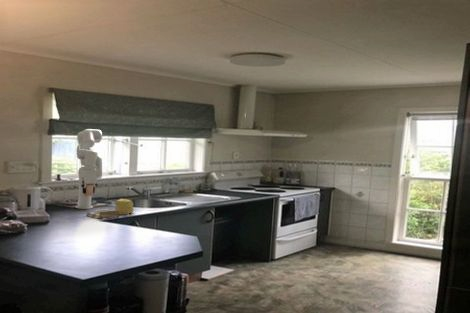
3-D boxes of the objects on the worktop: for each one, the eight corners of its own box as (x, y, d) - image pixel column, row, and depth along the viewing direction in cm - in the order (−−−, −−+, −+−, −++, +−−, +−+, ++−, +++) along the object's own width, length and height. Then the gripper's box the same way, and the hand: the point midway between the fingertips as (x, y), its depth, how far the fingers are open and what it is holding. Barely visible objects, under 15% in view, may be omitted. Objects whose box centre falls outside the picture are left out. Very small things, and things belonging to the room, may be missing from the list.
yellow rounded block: (133, 213, 340) (133, 199, 339) (128, 215, 329) (129, 201, 329) (119, 212, 341) (120, 198, 340) (114, 214, 330) (115, 200, 330)
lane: (87, 215, 317) (87, 208, 317) (105, 213, 328) (105, 207, 328) (100, 219, 307) (100, 212, 307) (119, 217, 318) (119, 210, 318)
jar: (82, 195, 321) (82, 183, 320) (89, 194, 325) (90, 183, 325) (87, 196, 317) (87, 184, 316) (94, 195, 321) (95, 184, 321)
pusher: (95, 216, 314) (95, 210, 314) (108, 215, 322) (109, 208, 322) (96, 216, 313) (96, 210, 313) (109, 215, 322) (110, 209, 322)
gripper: (97, 167, 329) (96, 192, 330) (75, 167, 316) (74, 193, 317) (103, 168, 324) (102, 193, 325) (81, 168, 311) (80, 194, 312)
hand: (88, 193), depth 321 cm, fingers closed on jar, 6 cm apart
